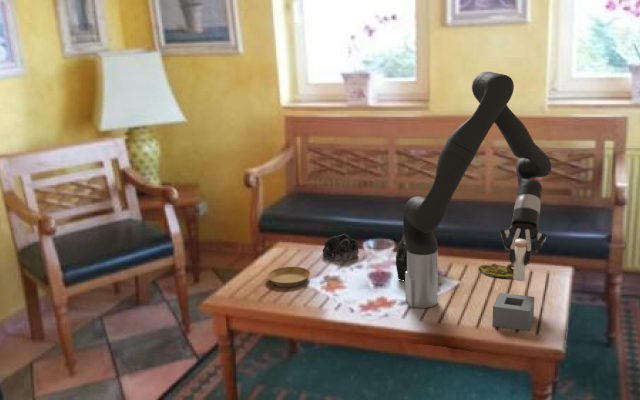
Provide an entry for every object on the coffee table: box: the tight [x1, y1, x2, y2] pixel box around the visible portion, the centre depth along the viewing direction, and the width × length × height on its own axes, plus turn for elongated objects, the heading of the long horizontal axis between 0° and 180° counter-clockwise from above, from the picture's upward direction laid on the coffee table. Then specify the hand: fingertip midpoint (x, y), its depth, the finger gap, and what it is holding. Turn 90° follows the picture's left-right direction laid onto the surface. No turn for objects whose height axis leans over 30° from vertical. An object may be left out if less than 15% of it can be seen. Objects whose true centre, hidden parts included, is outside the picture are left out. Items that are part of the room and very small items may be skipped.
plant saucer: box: [267, 266, 311, 288], centre depth 227 cm, size 15×15×3 cm
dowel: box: [513, 239, 527, 281], centre depth 196 cm, size 3×3×12 cm
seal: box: [478, 263, 515, 280], centre depth 225 cm, size 9×5×15 cm
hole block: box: [491, 292, 535, 332], centre depth 190 cm, size 10×10×6 cm
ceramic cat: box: [395, 227, 439, 281], centre depth 226 cm, size 20×6×20 cm, turn 136°
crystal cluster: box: [322, 233, 359, 263], centre depth 247 cm, size 13×14×10 cm
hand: (518, 263), depth 195 cm, fingers closed on dowel, 3 cm apart
